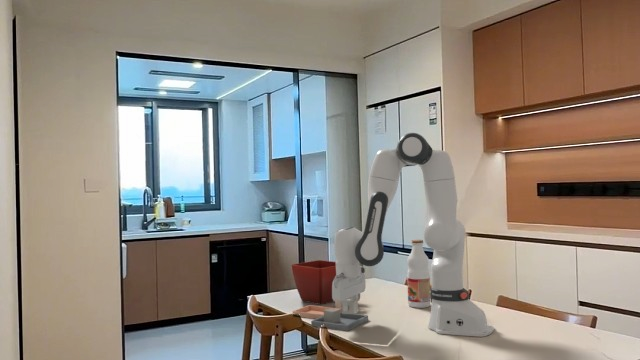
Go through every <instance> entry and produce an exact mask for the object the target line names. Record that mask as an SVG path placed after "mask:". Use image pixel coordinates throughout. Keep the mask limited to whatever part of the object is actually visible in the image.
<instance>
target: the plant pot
mask: <svg viewBox="0 0 640 360" xmlns="http://www.w3.org/2000/svg"><path fill="white" fill-rule="evenodd" d="M291 271H292V275H293V278H294V279H293V280H294V282H295V286H296V289H297V293H298V294H299V297H300V300H301V301H302V302H307V303H311V304H317V305H324V304H325V305H326V304H328V303H331V302H335V301H334V300H333V299H332V283H333V280H334V279H335V276H336V261H331V260H330V261H329V260H323V259H321V260H320V259H319V260H312V261H311V260H310V261H306V262H300V263H292V264H291Z"/></svg>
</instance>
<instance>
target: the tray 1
mask: <svg viewBox="0 0 640 360" xmlns="http://www.w3.org/2000/svg"><path fill="white" fill-rule="evenodd" d="M330 308H333V309H339V310H340V312H342V309H340V308H335V307H329V306H322V305H321V306H320V305H313V304H309V305H306V306H303V307H300V308H297V309H295V310H292V314H293V313H298V314H300V316H301V317H300V318H306V319H307V318H308V319H313V320H315V319H317V318H319V317H322V316H324V310H327V309H330ZM342 313H343V312H342Z"/></svg>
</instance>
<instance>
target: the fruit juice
mask: <svg viewBox="0 0 640 360" xmlns="http://www.w3.org/2000/svg"><path fill="white" fill-rule="evenodd" d="M423 244H424V240H423V239H412V240H411V245H412V247H411V252H410V254H409V255H408V257H407V260H406V263H407V267H408V268H407V271H406V272H407V273H406V274H407V277H406V280H407V304H408V306H409V307H411V308H417V309H424V308H425V309H426V308H429V307H430V306H431V299H430V288H431V273H430V270H429V264H430V261H429V257H428V256H427V254H426V253H425V251H424V250H425V249H424V247H423V246H424V245H423Z"/></svg>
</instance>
